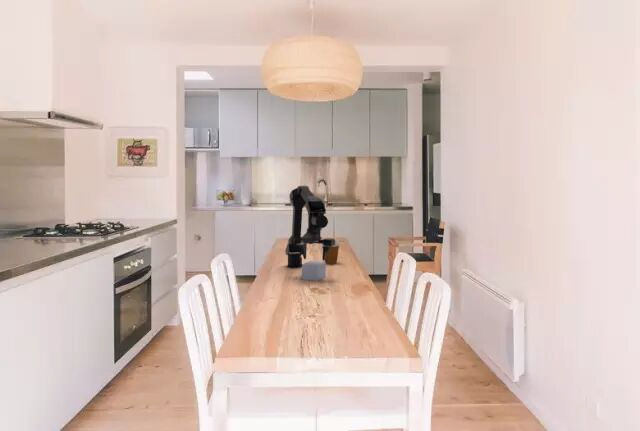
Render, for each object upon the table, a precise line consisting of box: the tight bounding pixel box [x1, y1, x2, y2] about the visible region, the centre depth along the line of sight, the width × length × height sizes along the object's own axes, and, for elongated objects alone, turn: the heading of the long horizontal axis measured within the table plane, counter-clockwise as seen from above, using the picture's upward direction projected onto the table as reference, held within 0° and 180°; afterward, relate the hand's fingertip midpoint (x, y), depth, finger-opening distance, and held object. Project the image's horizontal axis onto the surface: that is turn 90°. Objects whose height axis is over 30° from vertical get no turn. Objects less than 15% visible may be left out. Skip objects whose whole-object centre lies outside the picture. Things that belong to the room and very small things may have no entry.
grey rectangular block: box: [301, 260, 327, 282], centre depth 227 cm, size 8×10×7 cm
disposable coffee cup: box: [322, 240, 341, 266], centre depth 265 cm, size 10×10×12 cm
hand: (314, 259), depth 226 cm, fingers open, 9 cm apart
